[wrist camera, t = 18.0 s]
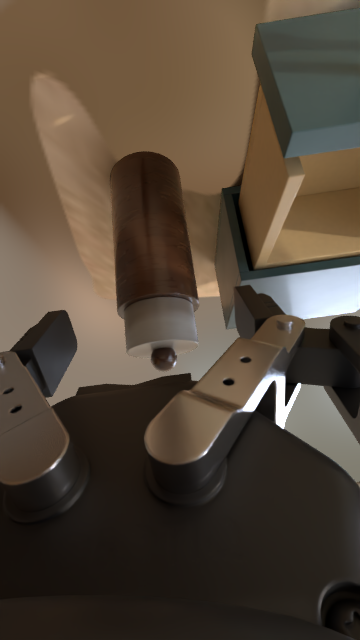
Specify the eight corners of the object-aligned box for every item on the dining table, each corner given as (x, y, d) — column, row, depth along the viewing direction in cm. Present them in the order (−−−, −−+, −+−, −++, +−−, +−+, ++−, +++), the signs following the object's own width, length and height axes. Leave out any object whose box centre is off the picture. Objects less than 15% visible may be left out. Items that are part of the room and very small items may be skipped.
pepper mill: (100, 157, 19) (109, 370, 15) (177, 145, 19) (210, 357, 15) (120, 209, 24) (131, 381, 20) (181, 200, 24) (207, 371, 20)
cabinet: (221, 188, 23) (241, 280, 21) (400, 162, 23) (444, 253, 20) (214, 264, 35) (226, 329, 32) (332, 247, 35) (354, 312, 32)
